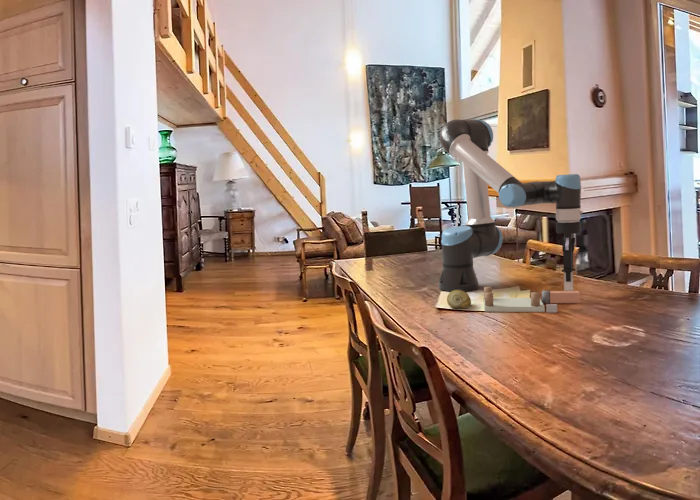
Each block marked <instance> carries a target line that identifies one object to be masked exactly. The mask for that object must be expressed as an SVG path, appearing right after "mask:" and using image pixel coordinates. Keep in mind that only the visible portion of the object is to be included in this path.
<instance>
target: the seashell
mask: <svg viewBox="0 0 700 500" xmlns="http://www.w3.org/2000/svg"><path fill="white" fill-rule="evenodd" d="M446 303H447V304H448V306H449V307H450V308H452V309H459V308H463V309H468V308H471V307H472V300H471V297H470V295H469V294H468V293H467V291H462V290H453V291H449V293H448V294H447V297H446Z"/></svg>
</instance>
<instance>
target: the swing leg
mask: <svg viewBox="0 0 700 500" xmlns="http://www.w3.org/2000/svg"><path fill="white" fill-rule="evenodd" d="M541 301H542V303H543V304H580V303H581V292H580V291H579V290H573V291H564V290H542V291H541Z"/></svg>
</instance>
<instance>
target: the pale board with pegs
mask: <svg viewBox="0 0 700 500" xmlns="http://www.w3.org/2000/svg"><path fill="white" fill-rule="evenodd" d="M483 293H484V295H483V309H484V312H486V313H487V312H489V313H491V312H492V313H493V312H496V313H497V312H498V313H499V312H501V313H503V312H505V313H506V312H507V313H510V312H511V313H512V312H513V313H515V312H517V313H520V312H522V313H523V312H524V313H525V312H526V313H527V312H529V313H532V312H533V313H534V312H535V313H539V312H540V313H545V312H546V313H551V314H553V313H558V303H545V305H544V303H542V298H541V293H540V292H539V291H537V292H536V291H533V292H530V297H494V293H493V286H484V287H483ZM545 308H546V309H545Z"/></svg>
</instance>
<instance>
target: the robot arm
mask: <svg viewBox="0 0 700 500" xmlns="http://www.w3.org/2000/svg"><path fill="white" fill-rule="evenodd" d="M440 129H441V130H440V131H439V142H440V145H441V147H442V148H443V149H444V151H445V152H446V153H447V154H448V155H449V156H451V157H452V158H457V159H459V161H461V162H462V165H463V177H464V185H465V187H464V188H465V196H466V205H467V216H468V217H467V218H468V219H467V221H466V223H465V225H459V226H458V225H457V226H453V227H449V228H447V229H445V230H443V231H442V233H441V241H440V242H441V243H440V244H441V255H442V256H441V257H442V260H441V261H442V269H441V273H440V275H439V280H438V289H439V290H441V291H446V292H451V291H453V290H462V291H464V292H469V291H471V292H472V291H474V290H477V289H479V280H478V277H477V275H476V272H475V269H474V259H476V258H479V257H487V256H491V255H494V254H496V253H497V252H498V251H499V250H500V249H501V247H502V244H503V239H504V238H503V233H502V231H501V230H500V228H499V227H498V226H496V221H495V220H494V219H493V218H492V216H491V208H490V197H489V186H490V187H491V188H492V189H493V190H494V191H495V192H496V193H497V194H498V199H499V201H500V203H501V204H502V205H503V206H505V207H506V208H519V207H525V206H531V205H532V206H533V205H540V204H555V221H557V222H556V223H555V232H556V234H563V237H562V238H561V245H562V247H561V248H562V249H561V250H562V253H563V254H562V255H563V256H562V257H563V269H562V270H561V272H562V273H563V291H574V271H576V268H574V251H575V243H576V237H574V235H575V234H580V233H581V231H582V224H581V221H580V220H581V218H582V217H581V216H582V215H581V214H583V213H584V211H583V210H581V195H582V193H581V191H582V186H581V185H582V184H581V176H580V174H577V173H571V174H558V175H556V176H555V180H553V181H552V180H551V181H550V180H549V181H547V180H546V181H537V180H536V181H529V182H521V181H520V180H519V179H518V178H517V177H515V176H514V175H513V174H511V173H510V171H508V170H506V168H505V167H503V165H501V164H499V162H497V161H496V160H495V159H494V158H492V157H491V156H490V155H489V154H488V153H489V148H490V147H491V145H492V143H493V141H494V130H493V128H492V127H491V125H490V123H488V122H487V121H485V120H480V119H452V120H449V121H447V122H446V123H445V124H444V125H443V126H442V128H440ZM573 234H574V235H573Z"/></svg>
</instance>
